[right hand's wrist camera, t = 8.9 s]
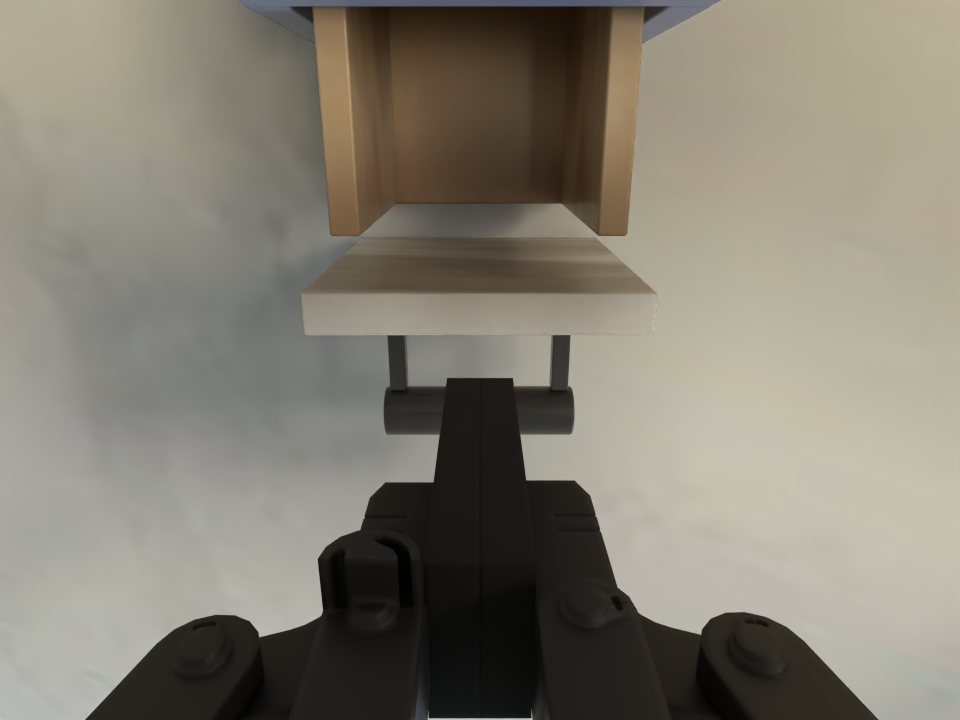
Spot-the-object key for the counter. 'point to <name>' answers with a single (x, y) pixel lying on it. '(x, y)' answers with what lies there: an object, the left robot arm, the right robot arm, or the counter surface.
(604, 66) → the drawer
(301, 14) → the cabinet
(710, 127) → the counter surface
